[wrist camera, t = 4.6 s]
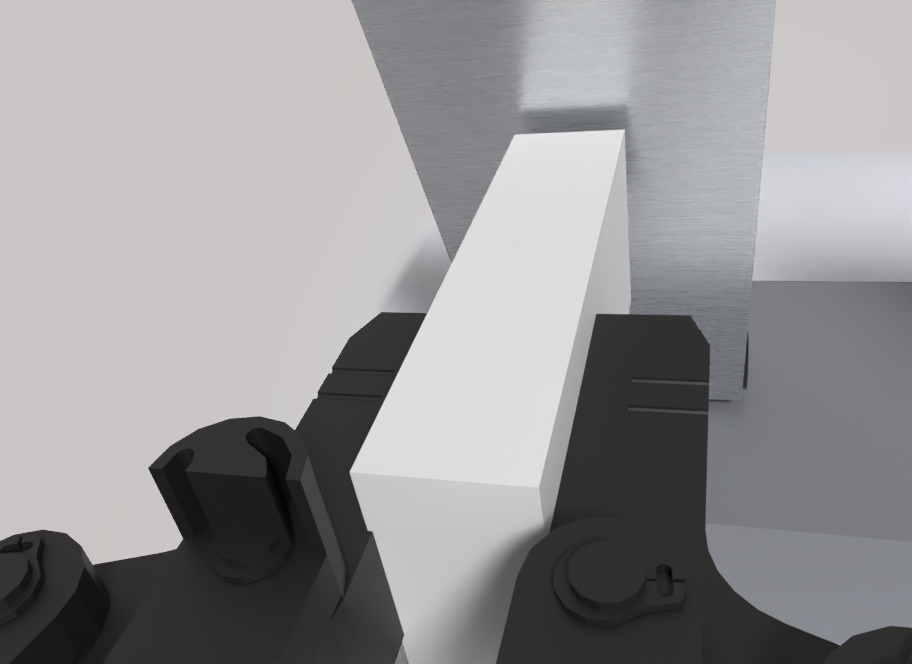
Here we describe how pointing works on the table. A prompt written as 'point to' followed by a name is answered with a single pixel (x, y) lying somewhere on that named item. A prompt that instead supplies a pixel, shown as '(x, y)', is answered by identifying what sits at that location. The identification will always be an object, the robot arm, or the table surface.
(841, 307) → the switch base
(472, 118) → the lever
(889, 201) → the table surface
